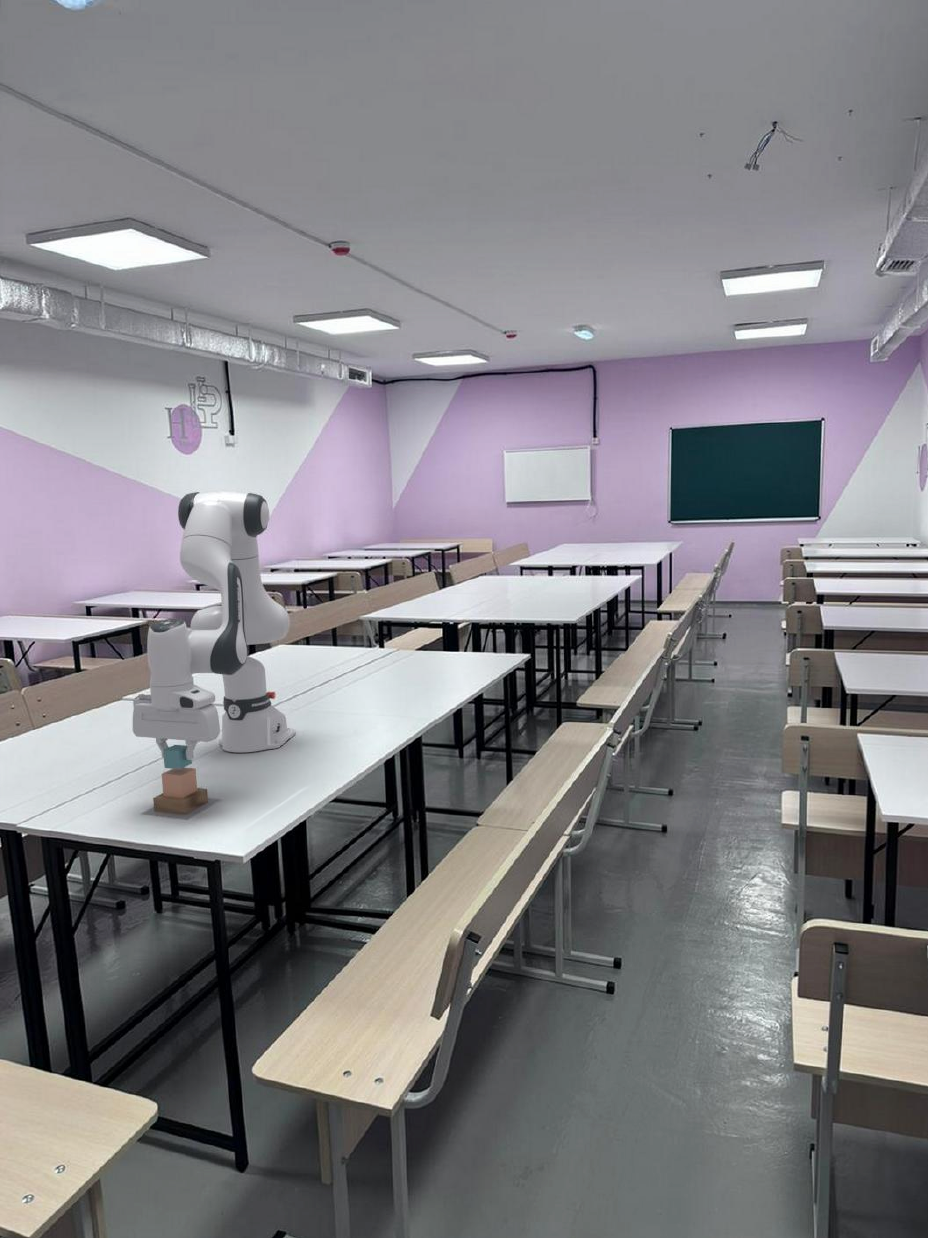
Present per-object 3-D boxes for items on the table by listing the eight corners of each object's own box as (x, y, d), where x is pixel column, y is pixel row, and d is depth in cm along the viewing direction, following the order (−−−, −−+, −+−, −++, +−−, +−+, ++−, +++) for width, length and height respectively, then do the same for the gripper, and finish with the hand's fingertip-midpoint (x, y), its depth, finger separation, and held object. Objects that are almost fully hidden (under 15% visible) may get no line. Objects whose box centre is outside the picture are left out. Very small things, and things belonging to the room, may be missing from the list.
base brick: (178, 798, 188) (177, 785, 188) (208, 801, 186) (207, 788, 185) (154, 811, 181) (153, 798, 180) (185, 815, 178) (184, 801, 178)
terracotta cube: (178, 788, 186) (176, 766, 185) (197, 790, 184) (195, 768, 184) (163, 796, 181) (161, 773, 181) (182, 798, 180) (181, 775, 179)
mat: (176, 797, 191) (176, 794, 191) (221, 802, 187) (221, 799, 187) (140, 816, 180) (140, 814, 180) (187, 822, 176) (187, 819, 176)
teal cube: (176, 762, 184) (174, 744, 184) (191, 763, 183) (190, 745, 182) (164, 768, 180) (163, 750, 180) (180, 769, 179) (178, 751, 179)
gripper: (122, 696, 180) (128, 759, 182) (203, 701, 173) (208, 766, 175) (142, 690, 186) (148, 750, 188) (221, 694, 179) (226, 757, 181)
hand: (177, 758), depth 181 cm, fingers closed on teal cube, 4 cm apart
